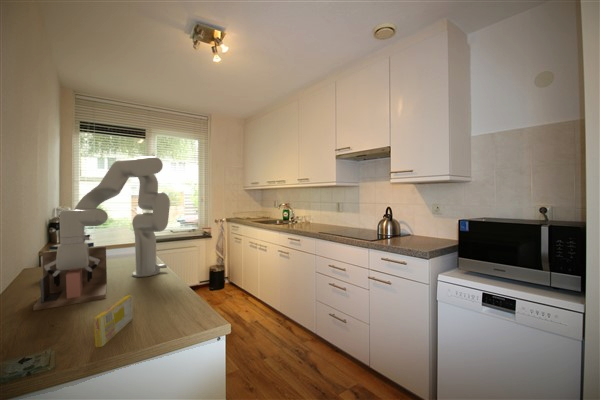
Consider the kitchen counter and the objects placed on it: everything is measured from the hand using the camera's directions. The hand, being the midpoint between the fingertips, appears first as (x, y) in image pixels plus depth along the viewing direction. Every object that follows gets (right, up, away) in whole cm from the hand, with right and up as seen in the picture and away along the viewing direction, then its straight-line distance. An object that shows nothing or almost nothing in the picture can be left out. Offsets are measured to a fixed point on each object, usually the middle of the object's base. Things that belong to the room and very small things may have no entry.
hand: (73, 283), depth 111 cm
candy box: (+35, -7, -28) cm, 46 cm away
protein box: (-28, -6, +34) cm, 45 cm away
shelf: (-1, -6, +1) cm, 6 cm away
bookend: (-6, -4, -4) cm, 8 cm away
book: (0, -4, 0) cm, 4 cm away
